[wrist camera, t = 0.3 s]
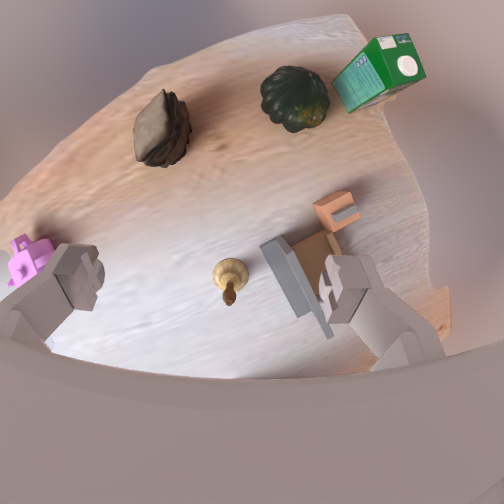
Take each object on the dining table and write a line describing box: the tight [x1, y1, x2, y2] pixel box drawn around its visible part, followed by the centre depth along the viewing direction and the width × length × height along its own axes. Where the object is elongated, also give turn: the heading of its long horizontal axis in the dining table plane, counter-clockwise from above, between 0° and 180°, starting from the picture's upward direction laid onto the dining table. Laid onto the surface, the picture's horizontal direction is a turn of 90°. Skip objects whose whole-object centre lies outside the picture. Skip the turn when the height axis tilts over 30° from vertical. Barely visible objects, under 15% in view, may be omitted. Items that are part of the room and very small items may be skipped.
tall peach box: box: [312, 191, 361, 232], centre depth 57 cm, size 6×7×11 cm
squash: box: [260, 66, 330, 133], centre depth 50 cm, size 14×15×15 cm
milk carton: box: [331, 33, 426, 114], centre depth 44 cm, size 9×9×25 cm
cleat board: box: [260, 228, 342, 339], centre depth 58 cm, size 20×16×16 cm
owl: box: [133, 89, 192, 168], centre depth 48 cm, size 13×13×20 cm
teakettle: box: [7, 234, 55, 288], centre depth 57 cm, size 17×17×12 cm
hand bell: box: [213, 259, 248, 306], centre depth 57 cm, size 8×8×16 cm
